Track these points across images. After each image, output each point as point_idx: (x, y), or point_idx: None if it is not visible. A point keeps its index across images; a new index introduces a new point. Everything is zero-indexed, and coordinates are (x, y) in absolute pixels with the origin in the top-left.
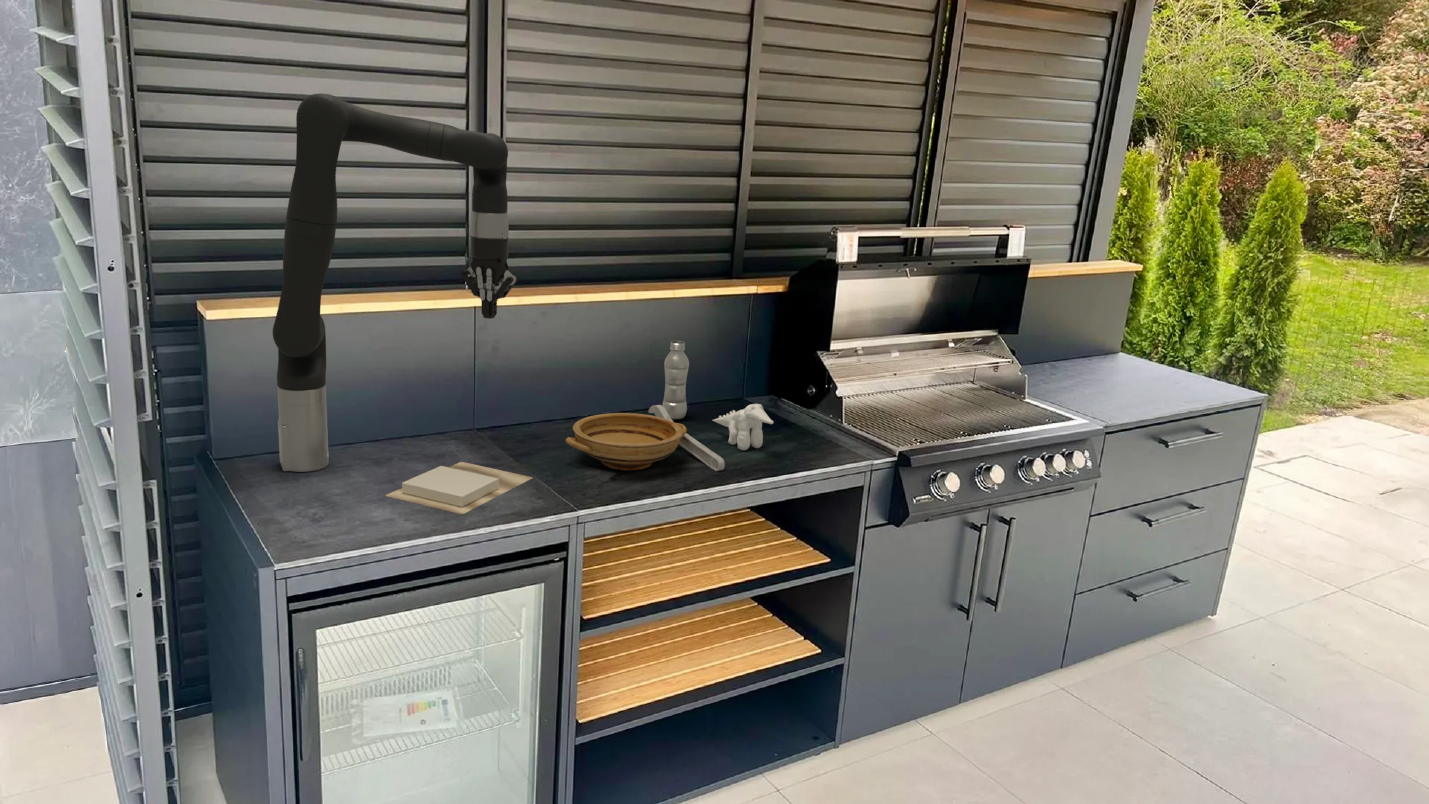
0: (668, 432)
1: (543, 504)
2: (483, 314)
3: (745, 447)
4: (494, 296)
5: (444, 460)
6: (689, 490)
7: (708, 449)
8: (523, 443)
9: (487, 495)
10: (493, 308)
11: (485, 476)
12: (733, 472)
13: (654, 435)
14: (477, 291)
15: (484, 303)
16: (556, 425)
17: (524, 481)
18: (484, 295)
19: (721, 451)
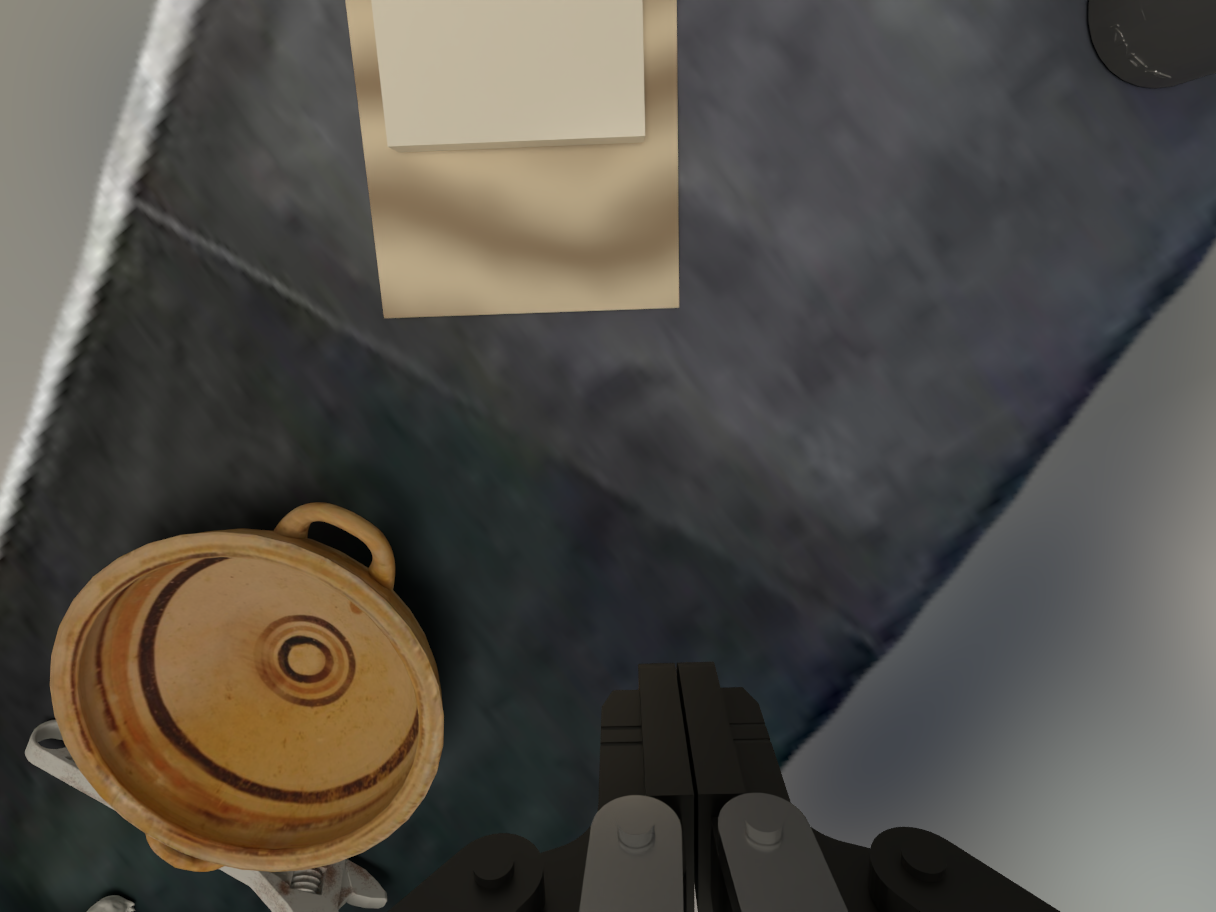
0: (205, 810)
1: (247, 178)
2: (714, 677)
3: (96, 903)
4: (538, 866)
5: (773, 340)
6: (7, 541)
7: (91, 793)
8: (661, 619)
9: None
10: (602, 762)
11: (440, 135)
12: (18, 734)
13: (269, 797)
14: (896, 902)
15: (716, 764)
16: None
17: (381, 267)
18: (733, 855)
19: (157, 862)
